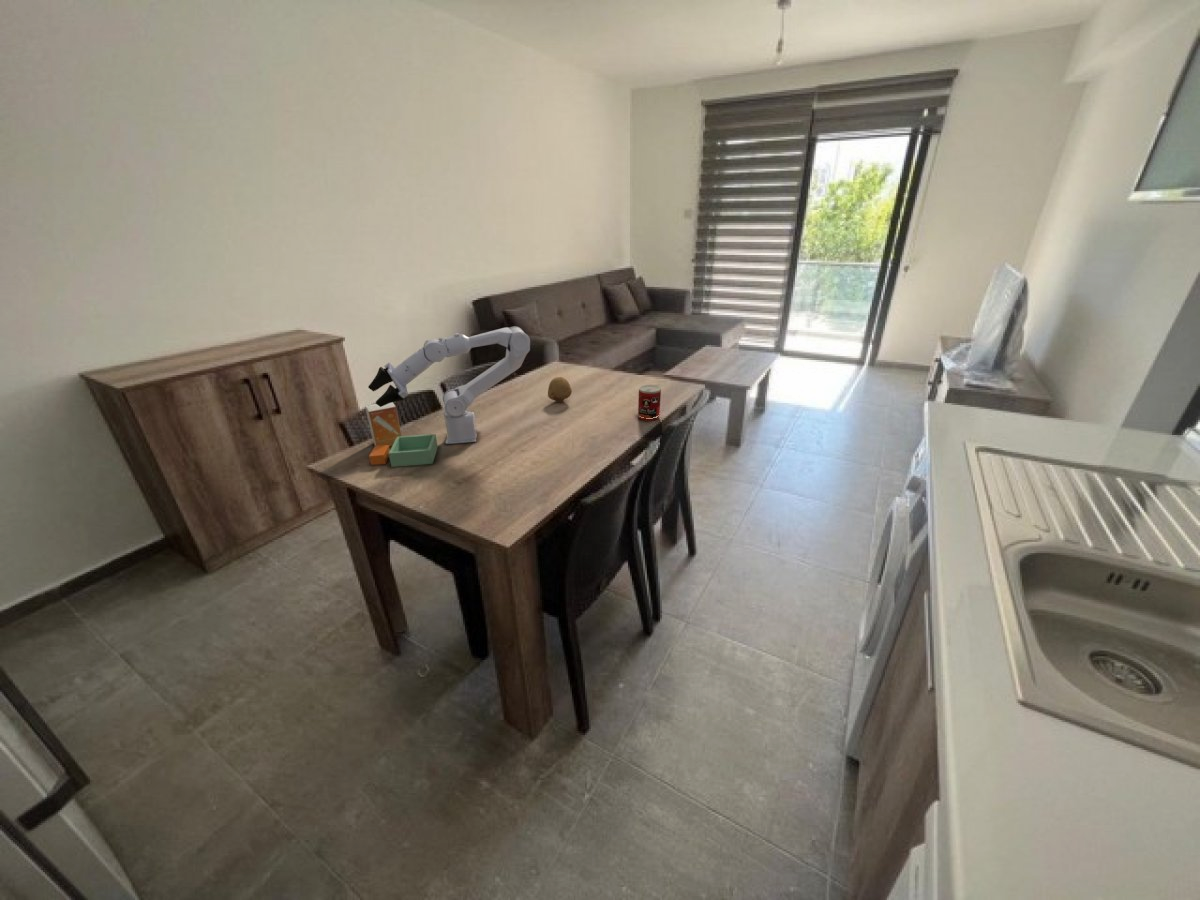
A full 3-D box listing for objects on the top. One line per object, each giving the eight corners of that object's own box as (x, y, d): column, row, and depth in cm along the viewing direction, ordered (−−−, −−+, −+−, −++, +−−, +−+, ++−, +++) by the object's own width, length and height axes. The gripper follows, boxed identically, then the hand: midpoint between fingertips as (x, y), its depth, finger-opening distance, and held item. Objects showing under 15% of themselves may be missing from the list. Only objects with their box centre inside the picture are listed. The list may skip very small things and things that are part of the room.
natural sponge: (576, 400, 188) (576, 376, 184) (563, 407, 182) (562, 382, 177) (558, 396, 193) (557, 372, 188) (544, 403, 186) (543, 378, 182)
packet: (390, 453, 148) (388, 444, 146) (385, 464, 142) (383, 455, 140) (377, 454, 147) (375, 445, 146) (371, 465, 141) (368, 456, 140)
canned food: (635, 419, 171) (636, 390, 166) (641, 411, 178) (642, 383, 173) (655, 422, 168) (657, 393, 164) (661, 414, 175) (663, 386, 170)
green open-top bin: (437, 446, 152) (435, 434, 150) (432, 463, 142) (430, 450, 140) (399, 449, 150) (396, 436, 148) (391, 467, 140) (388, 453, 138)
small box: (377, 450, 150) (368, 411, 144) (373, 443, 154) (364, 405, 149) (404, 444, 154) (396, 406, 148) (399, 437, 158) (391, 400, 153)
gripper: (393, 347, 143) (357, 375, 143) (409, 375, 136) (371, 405, 135) (409, 361, 149) (374, 387, 149) (424, 388, 142) (388, 417, 141)
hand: (374, 396), depth 143 cm, fingers open, 7 cm apart
